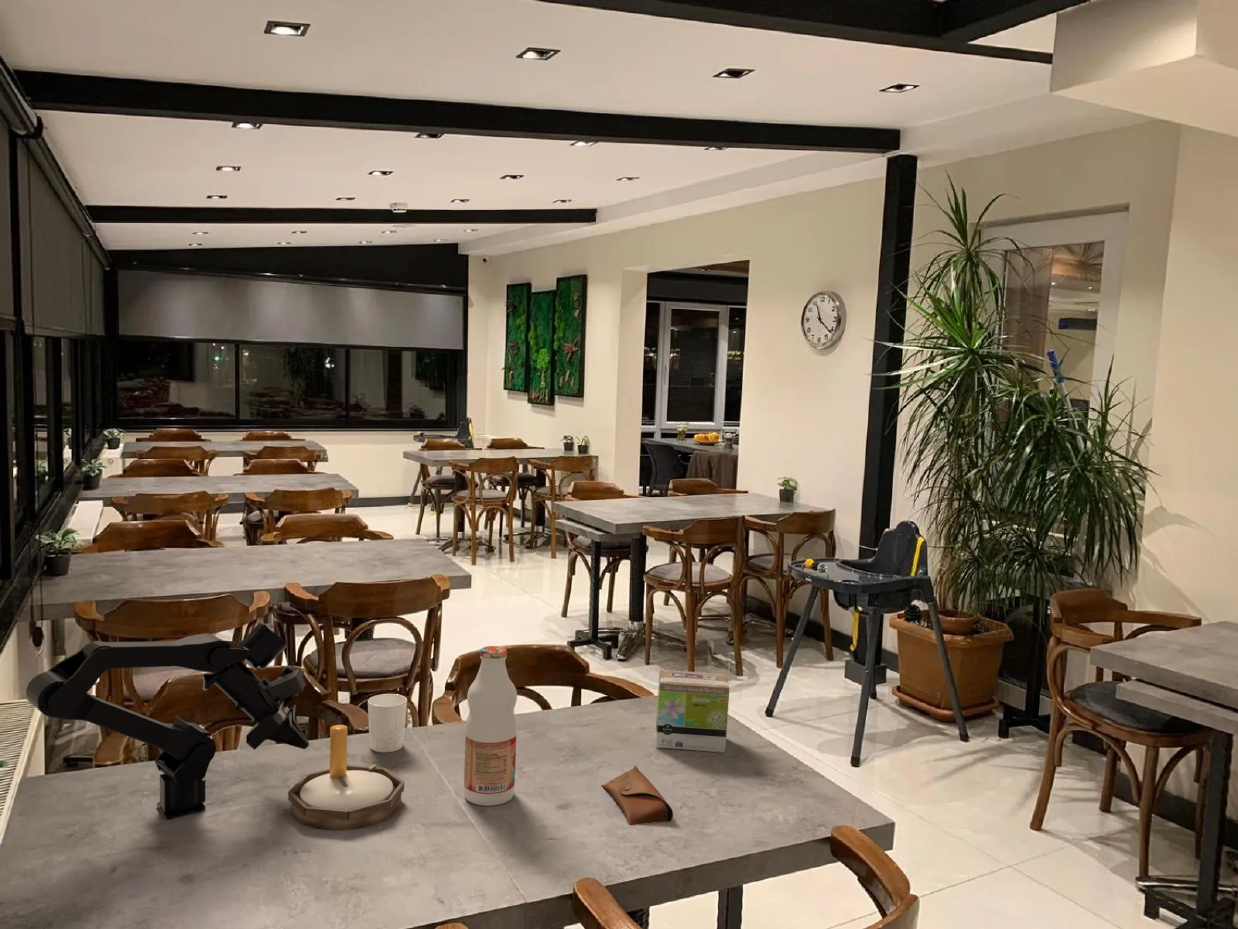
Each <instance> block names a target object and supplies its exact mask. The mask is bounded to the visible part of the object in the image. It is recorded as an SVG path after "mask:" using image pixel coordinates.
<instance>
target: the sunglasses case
mask: <svg viewBox="0 0 1238 929" xmlns="http://www.w3.org/2000/svg"><path fill="white" fill-rule="evenodd" d="M600 787H601V788H602V787H603V788H604V789H605V790H606V793H608V795H609V794H610V795H609V796H610V797H611V798H612V799H613V801H614V803H615V802H616V803H615V804H616V805H617V807H618V806H619V807H618V808H619V810H620V809H621V810H620V812H621V813H622V812H623V813H622V814H623V815H624V817H625V819H626V823H627V824H628V825H629V826H637V825H644V823H646V824H653V823H652V822H656V823H663V822H672V819H673V818H674V812H673V809H672V807H671V805H670V804H669V803H668V802H667V801H666V800H665V798H664V797H663V795H662V794H661V793H660V792H659V790H658V789H657V788H656V787H655V786H654V785H653V783H652V782H651V781H650V780H649V779H648V778H647V776H645V774H644V773H642V772H641V770H639V768H638V766H637V765H633V768H632V769H628V771H626V772H624V773H623V774H621V775H619V776H617V777H615V778H613V779H611V780H609V781H608V782H607V783H605V784H601V786H600ZM603 788H602V789H603ZM604 789H603V790H604ZM605 790H604V791H605Z"/></svg>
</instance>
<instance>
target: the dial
mask: <svg viewBox="0 0 1238 929" xmlns="http://www.w3.org/2000/svg"><path fill="white" fill-rule="evenodd" d="M329 732H330V733H329V735H330V737H329V739H330V740H329V741H330V742H329V745H330V746H329V769H330V773H329V774H325V775H322V776H319V777H316V778H314V779H312V780H310V781H309V782H307V783H306V784H305V785H304V786H303V787H302V789H301V791H300V800H301V801H302V802H303V803H304V804H305V805H306V806H307V807H317V808H329V809H340V810H351V809H355V808H359V807H362V806H366V805H370V804H373V803H377V802H381V801H385V800H388V799H389V797H390V796H391V795H392V793H393V784H392V782H391V780H390V779H389V778H387V777H386V776H384V775H381V774H379V773H375V772H370V771H360V770H350V771H347V765H348V760H347V759H348V726H347V725H344V724H336V725H333V726H331V727H330V731H329Z"/></svg>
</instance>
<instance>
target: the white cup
mask: <svg viewBox="0 0 1238 929" xmlns="http://www.w3.org/2000/svg"><path fill="white" fill-rule="evenodd" d="M407 706H408V698H407V697H406V696H404V695H402V694H396V693H383V694H377V695H373V696H371V697H369V699H368V700H367V708H368V709H367V711H368V714H367V716H368V732H369V733H368V735H369V747H370V749H371V750H372V751H374V752H377V753H393V752H397V751H398V750H401V749H402V748H403V746H404V740H405V739H404V738H405V731H406V722H407V721H406V720H407Z"/></svg>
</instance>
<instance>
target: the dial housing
mask: <svg viewBox="0 0 1238 929" xmlns="http://www.w3.org/2000/svg"><path fill="white" fill-rule="evenodd" d="M377 766H378V765H377V764H374V763H373V764H371V765H370V766H364V765H355V764H352V765H351V764H347V771H350V770H360V771H370V772H375V773H379V774H381V775H384V776H386V777H387V778H389V779H390V780H391V782H392V784H393V793H392V795H391V796H390V797H389V799H388V800H385V801H381V802H377V803H373V804H370V805H366V806H362V807H359V808H355V809H351V810H340V809H329V808H317V807H307V806H306V805H305V804H304V803H303V802H302V801H301V800H300V791H301V789H302V787H303V786H304V785H305V784H306V783H307V782H309V781H310V780H312V779H314V778H316V777H319V776H322V775H325V774H329V773H330V768H327V769H322V770H318V771H313V772H309V773H306V774H305V775H304V776H302V778H301V779H300V780H298V782H296V783H295V784H294V785H293V786H292V787H291V788H290V789H289V790H288V791H287V795H288V796H287V801H288V802H290V813H291V816H292V817H293V819H294V820H295V821H297V823H299V824H301V825H303V826H306V827H310V828H312V829H318V830H325V831H348V830H357V829H361V828H365V827H370V826H373V825H376V824H378V823H381V822H384V821H385V820H387V819H389V818H391V817H392V816H394V815H395V814H396V813H397V812H398V811H399V810H400V808H401V805H402V794H403V792H404V791H405V781H403V780H402V779H401V778H399V777H398V776H397V775H396V774H394V773H393V772H392V771H390V770H389V769H388V768H385V767H381V766H380V767H377Z"/></svg>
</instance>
